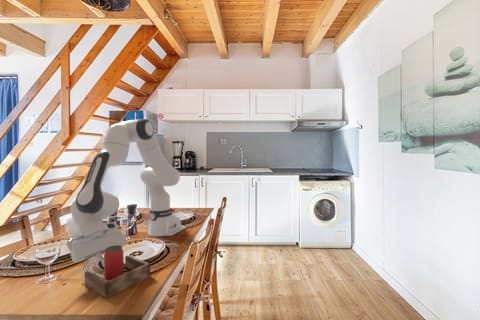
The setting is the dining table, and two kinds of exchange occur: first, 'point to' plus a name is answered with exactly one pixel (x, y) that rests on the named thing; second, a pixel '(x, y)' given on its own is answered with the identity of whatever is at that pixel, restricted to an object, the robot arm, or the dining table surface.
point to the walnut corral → (119, 278)
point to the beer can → (113, 262)
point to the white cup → (72, 229)
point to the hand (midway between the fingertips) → (107, 262)
